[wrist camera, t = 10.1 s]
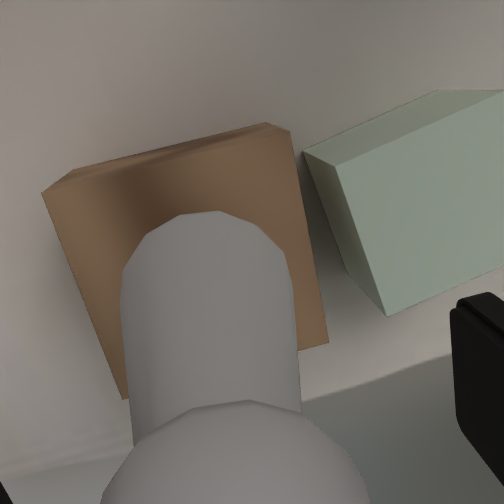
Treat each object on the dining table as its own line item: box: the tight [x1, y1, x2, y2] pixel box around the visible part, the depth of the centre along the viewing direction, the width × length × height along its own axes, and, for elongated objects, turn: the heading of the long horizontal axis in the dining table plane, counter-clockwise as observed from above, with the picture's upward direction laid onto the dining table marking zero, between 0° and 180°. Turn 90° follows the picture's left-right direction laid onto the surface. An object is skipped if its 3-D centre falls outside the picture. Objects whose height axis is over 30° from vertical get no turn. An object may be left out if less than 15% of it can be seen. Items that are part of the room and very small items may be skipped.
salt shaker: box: [100, 211, 370, 504], centre depth 12 cm, size 6×6×13 cm
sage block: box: [302, 90, 504, 317], centre depth 21 cm, size 7×7×5 cm
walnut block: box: [41, 122, 329, 400], centre depth 20 cm, size 9×9×5 cm
